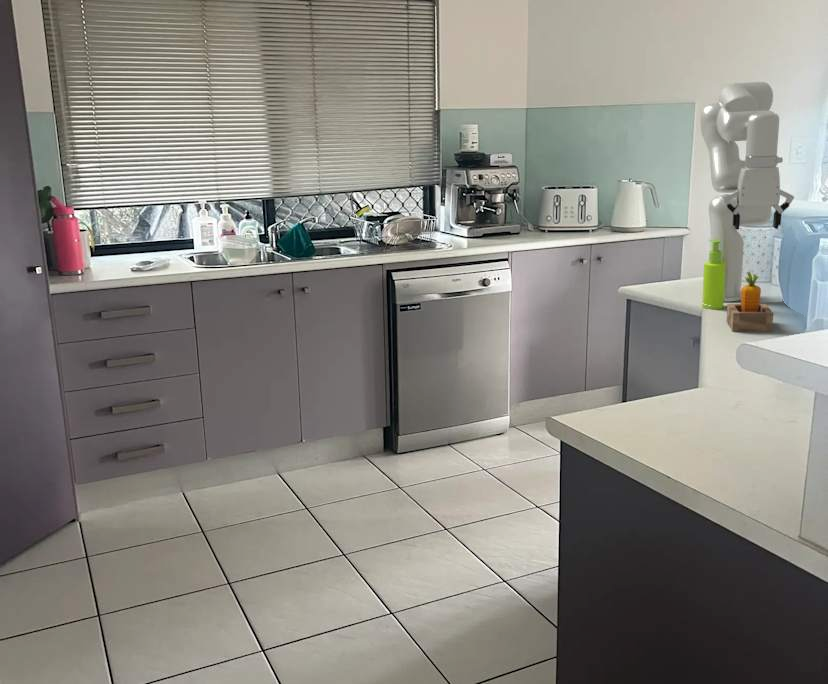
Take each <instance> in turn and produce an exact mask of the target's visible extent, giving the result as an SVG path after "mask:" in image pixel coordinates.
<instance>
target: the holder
mask: <svg viewBox="0 0 828 684" xmlns="http://www.w3.org/2000/svg"><path fill="white" fill-rule="evenodd" d="M726 323H727V325H728V326H729V328H730V330H731V332H773V325H774V324H773V323H774V312H773V311H772V309H770V307H769V306H768V305H767V304H766V303H759V307H758V311H757V312H742V309H741V303H728V304H727V305H726Z"/></svg>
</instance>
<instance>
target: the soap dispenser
mask: <svg viewBox="0 0 828 684" xmlns="http://www.w3.org/2000/svg"><path fill="white" fill-rule="evenodd" d="M709 242H712V243H713V248H712V250H711V251H710V250H709V253H708V261H706V262H704V263H703V279H702V280H703V283H702V301H701V306H702V308H703V309H707V310H719V309H723V308H724V302H723V300H724V281H725V263H723V262H721V251H719V244H720V241H719V240H718V239H711V238H710V239H709ZM702 302H703V303H704V304H707V305H704V304H702ZM708 305H711V306H708Z"/></svg>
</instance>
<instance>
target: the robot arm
mask: <svg viewBox="0 0 828 684" xmlns="http://www.w3.org/2000/svg"><path fill="white" fill-rule="evenodd" d="M717 101H718V102H714V103H710V104H708V105H705V107H704V108H703V109H702V111H701V114H700V118H699V119H700V120H699V122H700V123H699V124H700V131H701V134H702V137H703V141H704V142H705V144H706V147H707V151H708V155H709V166H710V178H711V179H710V180H711V185H712V188H713V189H714V191H715V192H717V193H721V194H720V195H717V196H715V197H713V198H712V199H711V200H710V202H709V203H708V204H709V205H708V216H709V225H710V226H709V227H710V239H718V240H719V241H720V244H719V251H721V262H723V263H725V281H724V300H723V303H724V302H725V303H729V302H730V303H731V302H741V289H742V283H743V282H742V280H743V279H742V278H743V277H742V276H743V265H744V263H743V262H744V261H743V260H744V243H745V241H744V239H743V236H742V235H741V234H740V232H739V231H738V230H739V229H740V227H747V226H749V227H750V226H761V225H762V226H763V225H765V224H767V223H768V222H769V221H770V220H771V216H772V208H774V210H775V211H774V212H773V219H772V221H773V223H772V228H774V229H775V230H778V229H779V226H781V224H782V214H783V213H784V211H785V210H787V209H788V208H789V207H790V205H791V203H792V202H793V200H794V199H795V196H794V195H793V194H791V193H789V192H786V191H784V190H782V189H781V178H780V177H781V175H780V170H779V168H780V167H778V164H780V163H783V159H784V158H783V157H782V156H778V144H779V130H780V117H779V115H778V114H777V113H775V112H774V111H772V110H771V109H772V105H773V102H774V91H773V88H772V87H771V85H770V84H768V82H765V81H752V82H735V83H730V84H729V85H728V84H727V85H726V86H724V87H723V88H722V90H721V91H720V93H719V94H718V100H717ZM743 141H744V142H745V141H746V143H745V144H746V145H745V159H744V160H742V159H740V149H739V146H738V144H737V142H743ZM781 196H782V197H783V198H785V201H784V202H783V203H781V205H779V203H780V199H781V198H780V197H781ZM709 242H710V246H709V247H710V249H709V252H710V251H711V250H712V248H713V243H712V242H711V241H709Z"/></svg>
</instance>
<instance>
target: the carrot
mask: <svg viewBox="0 0 828 684" xmlns="http://www.w3.org/2000/svg"><path fill="white" fill-rule="evenodd" d="M746 275H747V276H748V277H747V276H746V277H745V281H746V282H747V284H745V285H744V286H743V287H741V300H740V304H741V309H742V312H757V311H758V307H759V304H760V302H761V294H762V293H761V292H762V288H761V287H760V286H759V285H756V281H757V279H759V276H758V275H757V274H756V273H753V276H752V274H751V272H750V271H747V272H746Z"/></svg>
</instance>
